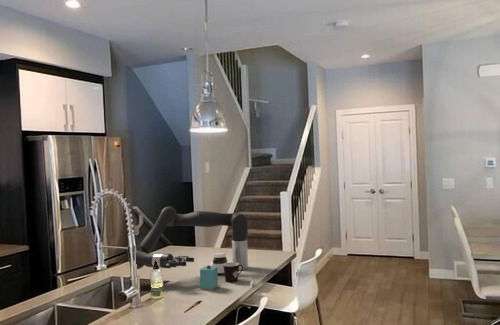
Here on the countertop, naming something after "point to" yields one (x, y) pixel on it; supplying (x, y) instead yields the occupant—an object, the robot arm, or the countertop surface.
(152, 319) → the countertop surface
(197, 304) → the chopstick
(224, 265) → the coffee mug
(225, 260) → the spread jar
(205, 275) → the teal rectangular block
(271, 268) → the countertop surface
